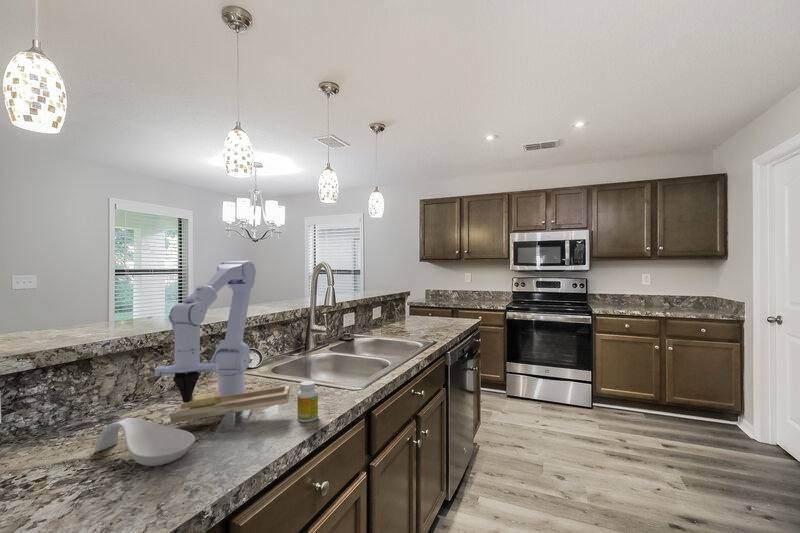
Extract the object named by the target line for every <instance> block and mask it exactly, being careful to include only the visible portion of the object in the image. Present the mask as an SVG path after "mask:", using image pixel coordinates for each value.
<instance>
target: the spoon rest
mask: <svg viewBox="0 0 800 533" xmlns="http://www.w3.org/2000/svg"><path fill="white" fill-rule="evenodd" d="M120 428H121V429H122V430H123V434H124V440H125V447H126V449H127V452H128V454H130V457H131V458H132V459H133V460H134V462H136V463H138V464H140V465H142V466H147V467H158V465H159V466H162V465H166V464H169V463H172V462H174V461H176V460H178V459H180V458H181V457H183V456H184V455H185V454H186V453H187V452H189V450H190V449H191V447H193V445H194V443H195V441H196V438H195V435H194V434H193V433H191V432H189V431H187V430H184V429H180V428H178V427H177V428H176V427H173V426H169V425H165V424H161V423H160V424H159V423H156V422H152V421H151V420H150V421H149V420H145V419H141V418H136V417H126V418H124V419H121V420H119V421H116V422H112V423H110V424H108V425H106V426H105V427H104V428H103V429H102V430H101V432H100V434H99V435H98V437H97V439H96V443H95V447H94V451H95V452H100V451H104V450H106V449H109V448H111V447H113V446H115V445H117V444H118V443H119V430H120Z"/></svg>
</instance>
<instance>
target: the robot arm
mask: <svg viewBox="0 0 800 533" xmlns="http://www.w3.org/2000/svg"><path fill="white" fill-rule="evenodd" d="M256 274H257V270H256V267H255V264H254V263H253V261H251V260H229V261H228V260H223V261H221V262H220V263H219V264H217V267H216V272H215V274H214V275H213V276H212V277H211V279H210V280H209V281H208V283H207V284H206V285H205V284H203V285H198V286H196V287H195V290H194V291H193V292H192V293H191V294H190V295H189V296H188V297H186V298H185V300H184V301H183V302H181V303H180V302H179V303H176V304H175V305H174V306H173V307H172V308H171V309H170V312H169V314H168V320H169V323H170V324H171V328H172V329H171V331H172V332H174V364H173V365H165V366H157V367H156V368H154V377H160V376H168V375H170V376H171V375H174V376H173V378H172V379H173V382H174V384H175V385H176V386H177V389H178V391H179V392H180V395H181V398H182V402H183V403H188V402H189V401H190V400H191V399H192V398H193V394H194V391H195V387H196V384H197V382H198V380H199V378H200V376H201V374H203V373H213V374H214V373H215V374H217V375H218V377H217V378H218V379H217V380H218V381H217V382H218V383H217V385H218V387H217V389H218V390H217V392H218V391H220V396H225V395H231V394H237V393H243V392H246V389H245V388H246V382H245V381H246V377H245V376H246V375H245V371H247V369H248V368H249V365H250V363H251V356H250V349H251V348H250V347H249V345H248V344H247V343H246V342H244V334H245V329H246V328H245V327H246V321H247V315H248V310H249V304H250V296H251V293H252V292H251V291H252V288H254V284H255V279H256ZM225 286H226V287H227V288H229V289H231V290H232V298H231V304H230V308H229V314H228V319H227V325H226V330H225V331H226V332H225V337H224V340H223V341H221V342H220V343H219V344H217V345H216V346H215V348H216V349H215V351H214V352H213V353H214V354H213V355H212V358H211V363H208V362H207V363H205V362H202V363H201V342H200V341H201V339H200V338H201V335H200V334H201V324H202V323H203V322H204V321H205V318H206V314H207V312H208V309H209V308H210V307H211V306H212V304H214V303H215V301H216V300H217V298H218V292H220V290H221V289H223V288H224V287H225Z"/></svg>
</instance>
